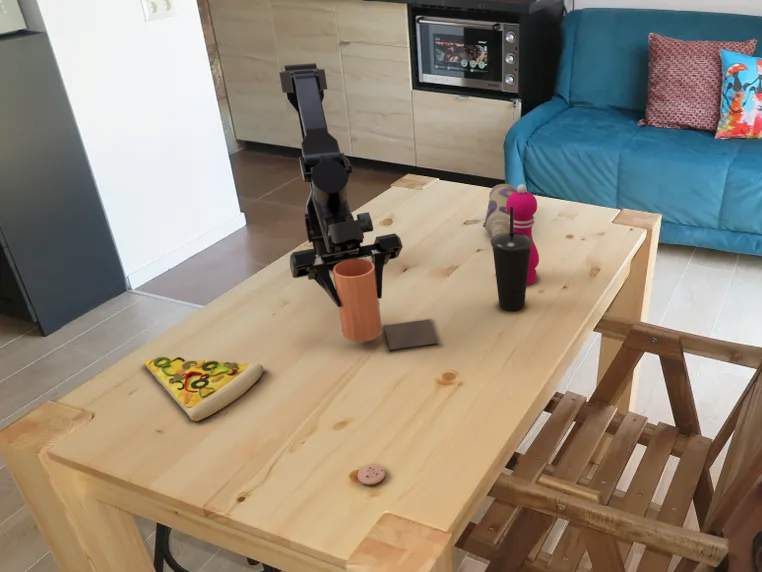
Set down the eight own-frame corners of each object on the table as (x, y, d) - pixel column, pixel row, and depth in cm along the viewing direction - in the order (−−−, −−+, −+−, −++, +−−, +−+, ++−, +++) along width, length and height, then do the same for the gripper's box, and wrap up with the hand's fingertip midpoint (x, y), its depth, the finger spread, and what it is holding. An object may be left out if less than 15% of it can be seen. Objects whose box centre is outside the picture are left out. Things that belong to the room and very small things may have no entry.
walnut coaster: (390, 351, 132) (390, 349, 131) (384, 327, 138) (384, 325, 138) (437, 344, 133) (437, 342, 133) (429, 321, 140) (429, 319, 140)
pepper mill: (497, 283, 152) (496, 188, 140) (511, 268, 157) (511, 175, 146) (531, 290, 150) (533, 194, 138) (543, 274, 155) (546, 180, 143)
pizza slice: (203, 426, 115) (198, 410, 113) (108, 390, 122) (102, 375, 120) (272, 374, 126) (268, 359, 124) (181, 344, 133) (177, 330, 131)
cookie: (388, 467, 107) (387, 461, 106) (382, 486, 104) (382, 481, 103) (361, 466, 107) (360, 460, 107) (355, 485, 104) (354, 480, 103)
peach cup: (335, 337, 131) (325, 273, 124) (355, 318, 136) (346, 256, 129) (369, 344, 129) (361, 280, 122) (388, 325, 134) (381, 262, 127)
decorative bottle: (489, 208, 183) (488, 182, 179) (519, 209, 183) (520, 183, 179) (478, 255, 162) (478, 226, 158) (513, 256, 162) (514, 228, 158)
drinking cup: (484, 309, 143) (482, 211, 132) (503, 292, 149) (502, 196, 137) (520, 319, 140) (521, 219, 129) (538, 301, 146) (540, 203, 134)
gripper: (280, 207, 119) (307, 299, 117) (394, 188, 125) (420, 276, 123) (280, 233, 129) (304, 319, 127) (384, 215, 135) (409, 296, 134)
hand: (360, 302), depth 128 cm, fingers closed on peach cup, 7 cm apart
